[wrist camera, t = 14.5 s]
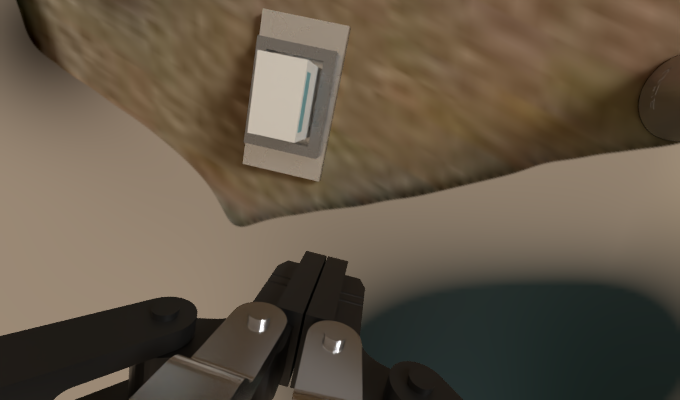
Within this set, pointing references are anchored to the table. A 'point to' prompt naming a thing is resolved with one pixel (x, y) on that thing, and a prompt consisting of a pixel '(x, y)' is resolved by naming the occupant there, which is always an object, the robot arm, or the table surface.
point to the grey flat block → (328, 54)
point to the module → (283, 97)
